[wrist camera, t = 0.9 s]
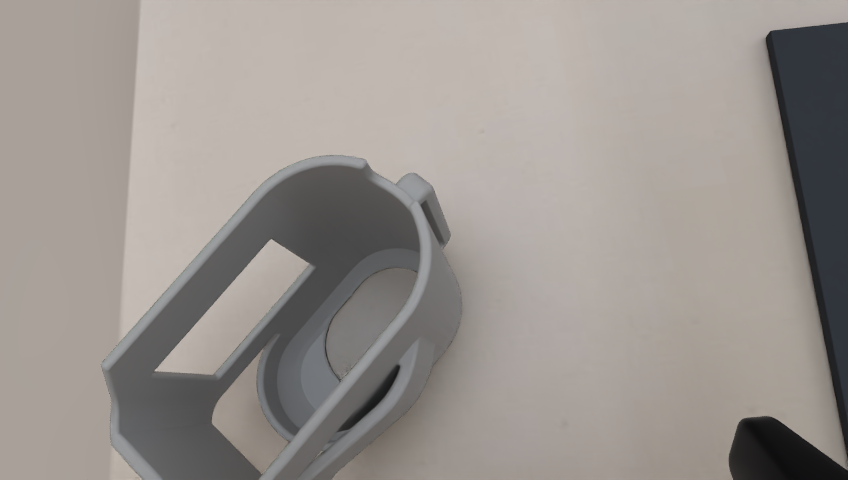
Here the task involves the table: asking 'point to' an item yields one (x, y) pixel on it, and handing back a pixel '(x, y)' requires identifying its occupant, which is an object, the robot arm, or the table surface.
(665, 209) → the table surface
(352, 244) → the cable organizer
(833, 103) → the mat
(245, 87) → the table surface
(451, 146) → the table surface
